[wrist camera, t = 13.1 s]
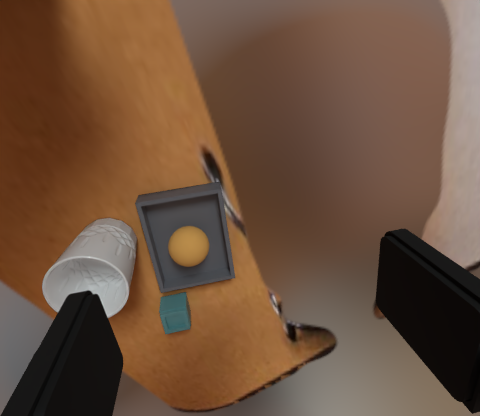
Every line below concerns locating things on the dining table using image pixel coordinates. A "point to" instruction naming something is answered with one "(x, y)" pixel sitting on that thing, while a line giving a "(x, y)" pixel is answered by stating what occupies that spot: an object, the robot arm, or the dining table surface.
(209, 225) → the tray
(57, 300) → the white cup
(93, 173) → the dining table surface
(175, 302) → the block
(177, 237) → the ball
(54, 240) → the dining table surface
